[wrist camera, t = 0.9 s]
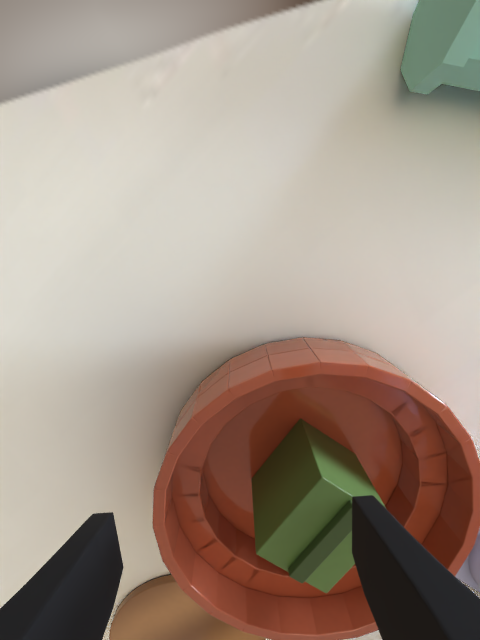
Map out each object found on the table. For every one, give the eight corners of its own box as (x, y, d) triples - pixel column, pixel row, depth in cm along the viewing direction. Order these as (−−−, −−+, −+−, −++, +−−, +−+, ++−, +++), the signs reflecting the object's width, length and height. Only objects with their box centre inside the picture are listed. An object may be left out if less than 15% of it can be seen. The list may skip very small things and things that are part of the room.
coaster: (295, 618, 23) (296, 627, 22) (209, 708, 25) (209, 719, 24) (164, 547, 22) (162, 555, 21) (84, 649, 24) (80, 659, 23)
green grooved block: (355, 453, 19) (399, 530, 14) (305, 511, 20) (328, 603, 15) (300, 417, 19) (324, 483, 14) (250, 478, 20) (255, 562, 14)
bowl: (485, 430, 20) (555, 482, 15) (322, 600, 23) (343, 684, 18) (272, 279, 18) (284, 289, 13) (122, 488, 21) (91, 554, 16)
